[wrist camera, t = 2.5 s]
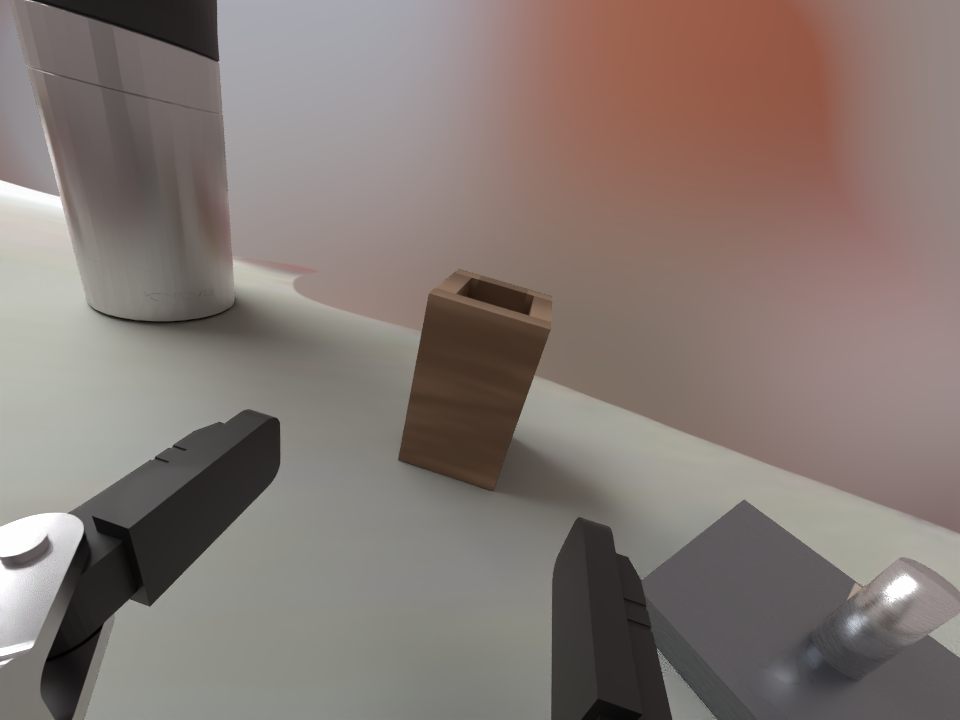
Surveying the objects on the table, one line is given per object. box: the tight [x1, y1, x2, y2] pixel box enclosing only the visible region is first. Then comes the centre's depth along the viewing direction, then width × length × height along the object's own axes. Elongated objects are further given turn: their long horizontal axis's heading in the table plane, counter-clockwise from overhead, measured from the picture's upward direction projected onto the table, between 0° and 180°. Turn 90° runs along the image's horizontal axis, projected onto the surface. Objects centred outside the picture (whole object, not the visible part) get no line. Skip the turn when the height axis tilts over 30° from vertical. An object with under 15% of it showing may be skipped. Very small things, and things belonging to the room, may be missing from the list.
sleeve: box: [398, 269, 552, 491], centre depth 21 cm, size 6×6×10 cm
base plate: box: [641, 500, 960, 720], centre depth 14 cm, size 12×12×6 cm
